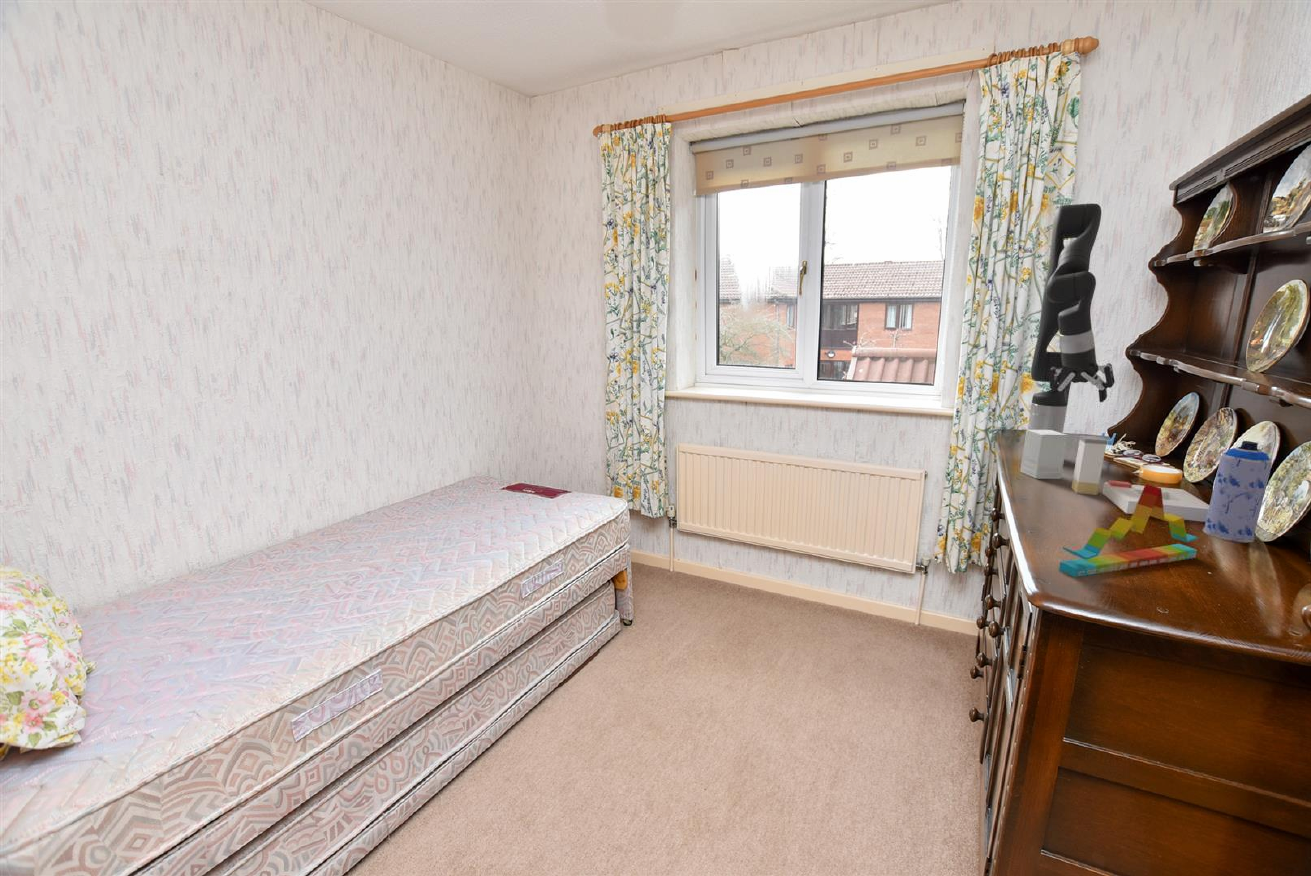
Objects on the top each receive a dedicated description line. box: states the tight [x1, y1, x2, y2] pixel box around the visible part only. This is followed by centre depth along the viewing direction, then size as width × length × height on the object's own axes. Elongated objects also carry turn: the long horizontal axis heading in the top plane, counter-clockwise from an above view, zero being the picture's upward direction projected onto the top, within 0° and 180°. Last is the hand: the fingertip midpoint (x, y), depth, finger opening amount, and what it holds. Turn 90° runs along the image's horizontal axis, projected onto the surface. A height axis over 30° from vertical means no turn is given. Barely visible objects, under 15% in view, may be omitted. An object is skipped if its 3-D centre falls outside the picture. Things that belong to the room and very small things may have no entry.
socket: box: [1102, 480, 1210, 523], centre depth 138 cm, size 16×16×4 cm
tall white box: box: [1071, 434, 1108, 496], centre depth 149 cm, size 5×5×14 cm
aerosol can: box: [1202, 440, 1273, 543], centre depth 120 cm, size 8×8×20 cm
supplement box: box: [1019, 429, 1069, 480], centre depth 163 cm, size 7×7×13 cm
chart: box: [1058, 484, 1198, 578], centre depth 106 cm, size 30×3×15 cm, turn 107°
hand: (1083, 401), depth 162 cm, fingers open, 8 cm apart
